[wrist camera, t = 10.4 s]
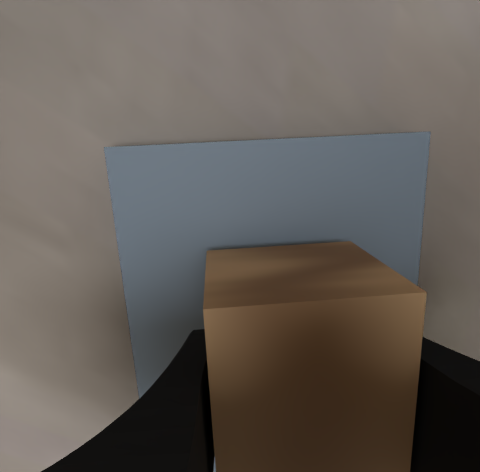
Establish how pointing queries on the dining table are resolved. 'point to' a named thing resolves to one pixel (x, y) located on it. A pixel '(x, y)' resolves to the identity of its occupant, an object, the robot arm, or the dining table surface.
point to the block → (311, 359)
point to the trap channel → (252, 217)
